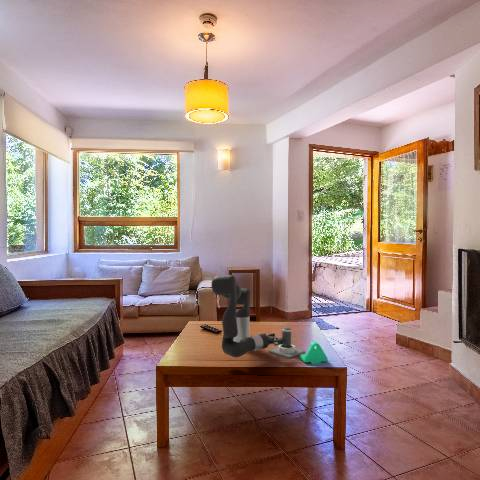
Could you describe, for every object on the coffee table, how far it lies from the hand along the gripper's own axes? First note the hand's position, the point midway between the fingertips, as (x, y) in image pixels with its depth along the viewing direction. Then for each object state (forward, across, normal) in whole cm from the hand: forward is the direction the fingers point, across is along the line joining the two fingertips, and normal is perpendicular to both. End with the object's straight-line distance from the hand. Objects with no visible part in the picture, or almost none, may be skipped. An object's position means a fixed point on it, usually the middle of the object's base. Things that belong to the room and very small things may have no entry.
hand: (280, 337), depth 203 cm
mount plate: (+5, 0, +9) cm, 11 cm away
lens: (+5, 0, +8) cm, 10 cm away
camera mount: (+6, -18, +10) cm, 21 cm away
